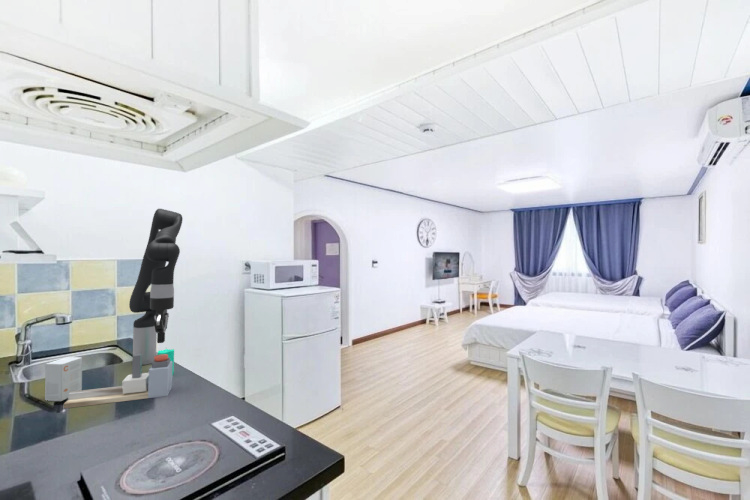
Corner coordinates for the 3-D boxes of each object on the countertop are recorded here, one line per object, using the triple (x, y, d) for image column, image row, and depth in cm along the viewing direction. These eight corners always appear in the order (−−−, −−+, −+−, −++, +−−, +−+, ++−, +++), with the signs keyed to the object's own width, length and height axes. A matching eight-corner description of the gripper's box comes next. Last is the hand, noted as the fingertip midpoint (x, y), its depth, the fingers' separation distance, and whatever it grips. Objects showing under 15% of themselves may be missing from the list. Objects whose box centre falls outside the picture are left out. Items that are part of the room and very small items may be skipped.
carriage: (128, 387, 127) (128, 353, 127) (150, 384, 130) (150, 351, 130) (122, 394, 120) (122, 358, 121) (145, 391, 123) (146, 356, 123)
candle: (176, 374, 146) (177, 346, 146) (161, 379, 141) (162, 349, 141) (169, 372, 149) (169, 344, 150) (154, 376, 144) (154, 347, 145)
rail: (75, 397, 122) (75, 388, 122) (154, 388, 131) (154, 379, 131) (63, 408, 114) (63, 397, 114) (148, 398, 123) (148, 388, 123)
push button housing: (154, 388, 131) (154, 357, 131) (171, 386, 133) (172, 355, 133) (148, 398, 123) (148, 364, 123) (167, 395, 125) (168, 362, 125)
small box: (66, 391, 127) (67, 356, 128) (82, 392, 127) (83, 357, 127) (43, 400, 119) (44, 363, 119) (61, 401, 119) (61, 364, 119)
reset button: (155, 363, 129) (155, 354, 129) (169, 362, 131) (169, 353, 131) (152, 367, 125) (153, 358, 125) (166, 366, 127) (166, 356, 127)
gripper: (170, 298, 123) (169, 346, 123) (176, 293, 136) (175, 337, 135) (145, 298, 121) (144, 348, 120) (154, 294, 133) (153, 338, 133)
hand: (161, 342), depth 128 cm, fingers closed
